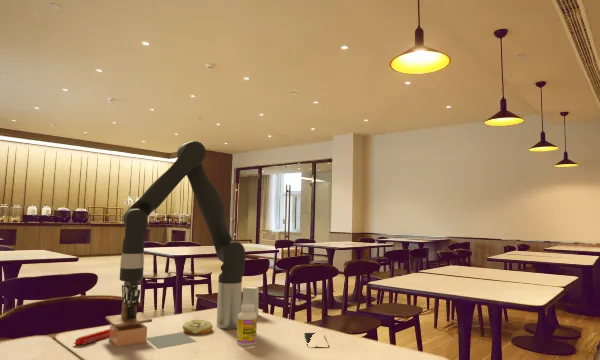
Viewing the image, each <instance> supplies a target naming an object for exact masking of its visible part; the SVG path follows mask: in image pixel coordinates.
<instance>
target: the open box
mask: <svg viewBox="0 0 600 360" xmlns="http://www.w3.org/2000/svg"><path fill="white" fill-rule="evenodd" d="M109 329H110V336H109V337H108V338H109V341H111V342H112V343H113V345H115V346H116V347H121V346H126V345H132V344H139V343H143V342H144V343H145V342H147V338H148V334H147V333H148V327H147V326H146V325H145V324H144V323H140V324H133V325H126V326H119V327H114V326H112V325H111V324H110V325H109Z"/></svg>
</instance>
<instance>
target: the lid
mask: <svg viewBox="0 0 600 360" xmlns="http://www.w3.org/2000/svg"><path fill="white" fill-rule="evenodd" d="M132 303H134V301H132ZM137 309H138V306H136V307H135V316H134V318H132V319H128V318H127V312H128V302H125V303H124V302H122V303H121V311H120V314H116V315H115V314H114V315H107V316H105V318H104V319H105V320H106V321H107V322H108V323H109V324H110V325H112V326H114V327H119V326H126V325H133V324H140V323H142V324H144V323H145V324H146V323H147V324H148V323H152V322H153V319H152V318H151V317H149V316H148V315H147V314H144V313H143V312H142V311H141V312H140V311H139V312H137V311H138V310H137Z"/></svg>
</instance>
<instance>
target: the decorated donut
mask: <svg viewBox="0 0 600 360" xmlns="http://www.w3.org/2000/svg"><path fill="white" fill-rule="evenodd" d="M213 328H214V327H213V323H212V322H211V321H208V320H206V319H205V320H204V319H191V320H190V321H186V322H184V323H183V324H182V329H183V333H184V334H186V335H187V334H188V335H206V334H207V335H208V334H209V333H210V332H212V331H213V330H212V329H213Z"/></svg>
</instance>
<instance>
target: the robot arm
mask: <svg viewBox="0 0 600 360" xmlns="http://www.w3.org/2000/svg"><path fill="white" fill-rule="evenodd" d="M176 156H177V159H176V160H175V161H174V163H172V165H171V166H170V167H169V168H168V169H167V170H166V171H165V172H163V173H162V174H161V175H160V176H159V177H158V178H157V179H156V180H154V182H153V183H151V185H150V186H149V187H148V188H147V189H146V190H145V191H144V193H143V194H142V196H140V198H139V199H137V201H135V202H134V203H133V204H132V205H131V206H130V207H128V209H127V210H126V211H125V212H124V214H123V216H122V217H123V218H122V222H123V225H125V230H124V231H125V233H124V234H125V235H124V237H123V240H122V247H121V252H122V253H121V257H120V267H119V281H121V282H124V284H121V301H122V303H125V302H128V312H127V318H128V319H132V318H134V316H135V307H136V306H137V307H138V306H139V299H140V294H141V289H139V285H138V282H139V281H142V280H143V279H144V268H145V255H144V254H145V253H144V252H145V237H146V233H147V227H148V217H149V216H150V215H151V214H152V213H153V211H155V210H156V209H158V208H159V207H160V206H161V205H162V204H163V203H164V201H166V199H167V198H168V197H169V196H170V195H171V193H173V191H174V190H175V189H176V187H177V186H178V185H179V184H180V183H181V181H183V179H184V178H185V177H186V178H187V179H188V182H189V184H190V187H191V189H192V192H193V195H194V198H195V200H196V203H197V206H198V208H199V211H200V213H201V215H202V218H203V219H204V222H205V224H206V227H207V229H208V232H209V233H210V236H211V239H212V240H211V241H212V243H213V247H214V249H215V250H214V251H215V253H216V257H217V258H218V260H219V261H220V262H222V271H221V273H220V274H218V279H217V280H218V283H217V285H218V286H217V303H216V304H217V309H216V327H217V328H220V329H222V330H234V329H237V322H238V314H239V313H240V312H241V311H242V310H241V305H243V300H242V294H243V288H242V287H243V276H244V274H245V265H246V263H245V262H246V249H245V246H244V245H243V243H241V242H238V241H234V240H233V238H232V236H231V233H230V231H229V230H228V229H229V228H228V226H227V216H226V214H227V213H226V208H225V205H224V202H223V200H222V197H221V194H220V193H219V191H218V189H217V188H216V186H215V184H213V182H212V180H211V179H210V177H209V176H208V174H207V173H206V171H205V168H204V166H203V161H205V160H206V156H207V151H206V146H204V144H203V143H201V142H200V141H196V140H191V141H188V142H185V143H182V144H181V145H180V146H179V147H178V149H177V152H176ZM132 302H134V303H132Z"/></svg>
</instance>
